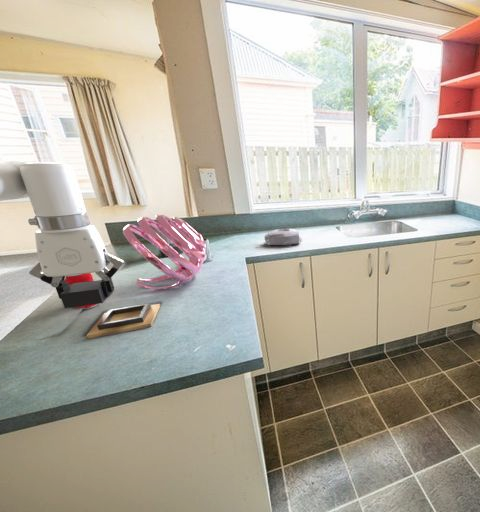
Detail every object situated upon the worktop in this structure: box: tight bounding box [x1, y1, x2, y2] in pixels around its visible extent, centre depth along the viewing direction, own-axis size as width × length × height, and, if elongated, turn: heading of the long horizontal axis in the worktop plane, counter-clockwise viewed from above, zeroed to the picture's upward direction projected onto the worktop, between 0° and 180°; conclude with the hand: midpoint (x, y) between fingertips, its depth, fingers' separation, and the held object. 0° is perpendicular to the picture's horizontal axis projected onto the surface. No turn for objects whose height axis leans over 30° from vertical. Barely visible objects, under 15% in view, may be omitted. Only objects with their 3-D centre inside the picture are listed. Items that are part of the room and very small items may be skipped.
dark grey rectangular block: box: [60, 279, 109, 309], centre depth 69 cm, size 6×6×4 cm
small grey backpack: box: [263, 228, 301, 246], centre depth 171 cm, size 15×8×20 cm
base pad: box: [86, 303, 161, 340], centre depth 88 cm, size 14×14×2 cm
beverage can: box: [65, 273, 99, 311], centre depth 95 cm, size 6×6×12 cm
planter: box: [198, 238, 213, 263], centre depth 139 cm, size 4×4×10 cm
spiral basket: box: [122, 214, 207, 291], centre depth 111 cm, size 28×28×27 cm
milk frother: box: [153, 227, 190, 258], centre depth 151 cm, size 14×16×15 cm
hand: (89, 297), depth 69 cm, fingers closed on dark grey rectangular block, 6 cm apart
